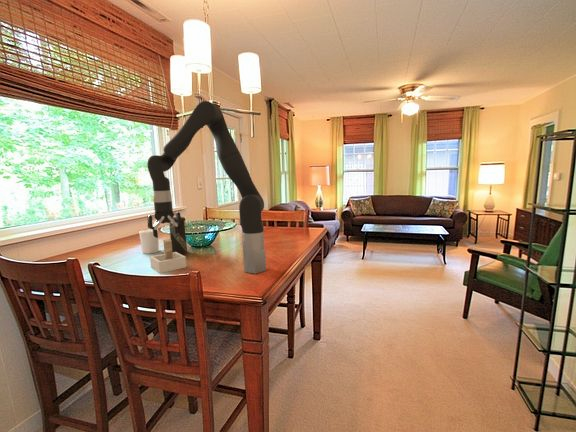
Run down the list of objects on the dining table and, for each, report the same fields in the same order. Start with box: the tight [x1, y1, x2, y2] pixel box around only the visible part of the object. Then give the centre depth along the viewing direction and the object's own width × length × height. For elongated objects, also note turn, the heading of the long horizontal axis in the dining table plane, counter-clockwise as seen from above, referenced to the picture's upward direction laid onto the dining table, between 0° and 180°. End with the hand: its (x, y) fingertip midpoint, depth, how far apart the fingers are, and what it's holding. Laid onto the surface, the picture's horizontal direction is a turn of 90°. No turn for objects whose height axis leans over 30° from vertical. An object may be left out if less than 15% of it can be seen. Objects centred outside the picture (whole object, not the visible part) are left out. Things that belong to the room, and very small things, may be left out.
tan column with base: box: [163, 238, 173, 260], centre depth 138 cm, size 6×6×12 cm
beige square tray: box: [149, 252, 187, 274], centre depth 139 cm, size 12×12×5 cm
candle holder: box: [138, 228, 160, 254], centre depth 167 cm, size 10×10×12 cm
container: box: [168, 216, 188, 256], centre depth 161 cm, size 9×9×20 cm
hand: (166, 236), depth 137 cm, fingers open, 8 cm apart
